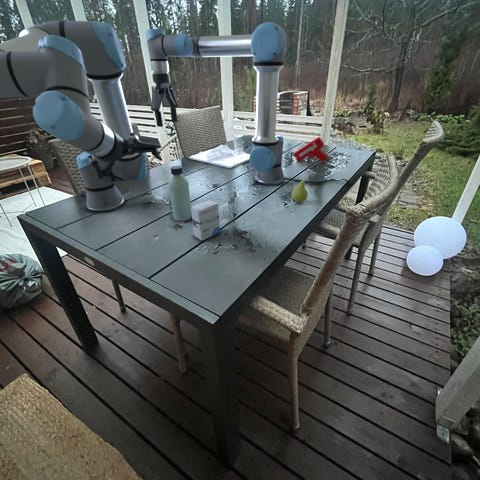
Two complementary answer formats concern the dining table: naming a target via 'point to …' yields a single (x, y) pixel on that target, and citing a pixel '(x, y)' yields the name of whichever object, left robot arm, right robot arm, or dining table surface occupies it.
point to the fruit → (300, 192)
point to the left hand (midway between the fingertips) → (140, 166)
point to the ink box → (205, 219)
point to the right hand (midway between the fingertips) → (167, 124)
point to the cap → (176, 170)
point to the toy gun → (312, 151)
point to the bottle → (180, 198)
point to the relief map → (222, 156)
